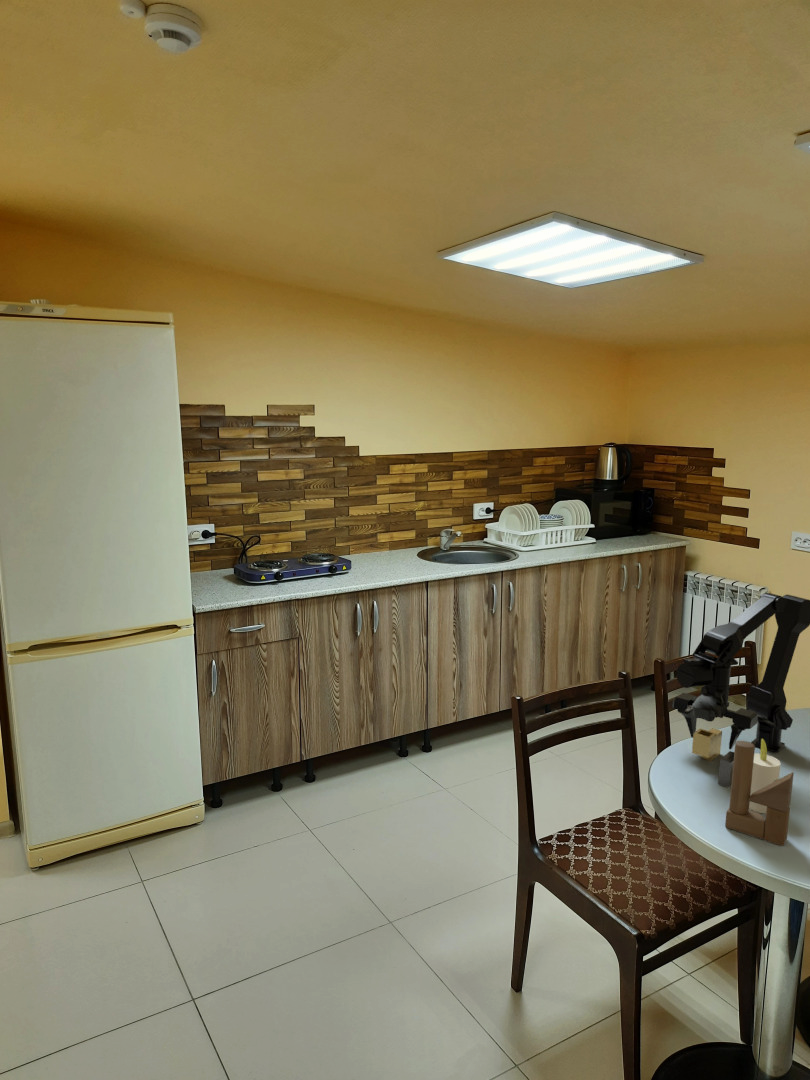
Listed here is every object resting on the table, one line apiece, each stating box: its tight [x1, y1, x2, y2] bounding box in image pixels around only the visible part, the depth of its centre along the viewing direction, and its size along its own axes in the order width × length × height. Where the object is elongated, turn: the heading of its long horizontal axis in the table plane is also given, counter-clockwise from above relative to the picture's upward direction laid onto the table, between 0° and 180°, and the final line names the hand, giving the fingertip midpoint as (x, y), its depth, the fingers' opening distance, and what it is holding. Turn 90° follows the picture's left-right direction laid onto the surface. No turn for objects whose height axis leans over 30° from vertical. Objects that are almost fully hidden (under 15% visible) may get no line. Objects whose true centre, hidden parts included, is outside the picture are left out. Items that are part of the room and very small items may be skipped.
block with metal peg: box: [717, 741, 737, 788], centre depth 166 cm, size 10×4×8 cm, turn 136°
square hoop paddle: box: [691, 728, 723, 762], centre depth 176 cm, size 10×4×8 cm, turn 136°
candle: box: [749, 739, 782, 815], centre depth 153 cm, size 6×6×15 cm
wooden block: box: [724, 740, 794, 847], centre depth 142 cm, size 4×11×18 cm, turn 52°
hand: (711, 743), depth 177 cm, fingers open, 9 cm apart
